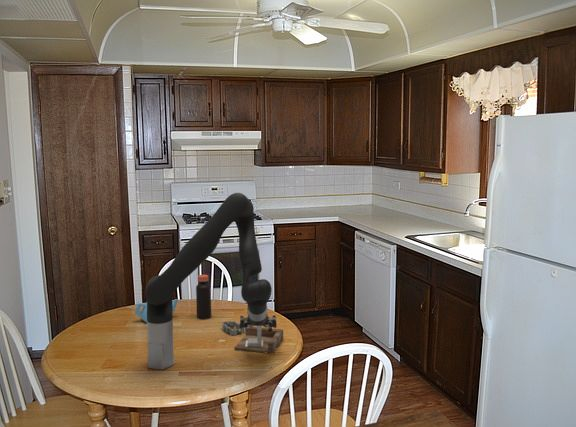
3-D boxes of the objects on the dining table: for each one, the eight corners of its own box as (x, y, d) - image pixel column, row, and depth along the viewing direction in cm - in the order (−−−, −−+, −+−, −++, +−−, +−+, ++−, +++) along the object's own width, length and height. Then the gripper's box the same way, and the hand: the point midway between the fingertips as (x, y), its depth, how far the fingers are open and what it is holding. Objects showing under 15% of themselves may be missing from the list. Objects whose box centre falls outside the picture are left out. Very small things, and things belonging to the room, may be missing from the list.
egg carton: (246, 333, 225) (246, 324, 225) (230, 337, 221) (230, 327, 221) (235, 326, 234) (235, 317, 234) (220, 329, 230) (220, 320, 230)
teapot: (152, 312, 252) (151, 290, 251) (179, 315, 247) (178, 294, 246) (133, 322, 238) (132, 300, 236) (161, 326, 233) (160, 303, 231)
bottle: (210, 314, 250) (209, 273, 247) (212, 318, 243) (211, 277, 240) (195, 315, 248) (194, 274, 245) (197, 320, 241) (196, 278, 238)
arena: (273, 353, 203) (273, 344, 203) (234, 349, 207) (234, 340, 207) (283, 338, 219) (283, 329, 218) (247, 335, 223) (246, 326, 222)
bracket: (247, 346, 207) (247, 322, 206) (248, 341, 212) (247, 318, 211) (261, 346, 208) (261, 322, 206) (261, 341, 212) (261, 318, 211)
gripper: (276, 302, 197) (276, 321, 210) (238, 302, 196) (241, 321, 209) (276, 320, 192) (276, 338, 205) (238, 321, 192) (240, 339, 205)
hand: (258, 329), depth 207 cm, fingers open, 8 cm apart
